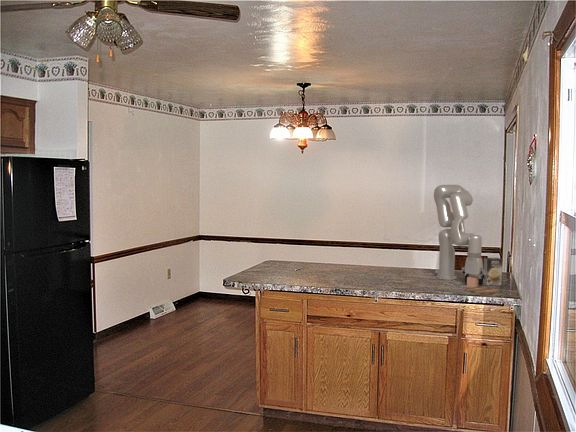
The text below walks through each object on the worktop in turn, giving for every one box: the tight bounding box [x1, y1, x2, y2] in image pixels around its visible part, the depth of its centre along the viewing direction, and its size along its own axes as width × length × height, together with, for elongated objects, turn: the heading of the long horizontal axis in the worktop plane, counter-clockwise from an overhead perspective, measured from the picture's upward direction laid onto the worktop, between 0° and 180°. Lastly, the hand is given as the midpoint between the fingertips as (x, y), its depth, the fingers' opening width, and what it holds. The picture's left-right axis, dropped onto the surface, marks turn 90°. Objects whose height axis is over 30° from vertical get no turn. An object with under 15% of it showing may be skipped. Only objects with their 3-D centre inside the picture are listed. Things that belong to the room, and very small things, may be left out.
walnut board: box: [464, 285, 502, 296], centre depth 319 cm, size 14×14×1 cm
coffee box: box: [482, 257, 503, 286], centre depth 338 cm, size 9×6×16 cm
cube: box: [466, 275, 481, 288], centre depth 333 cm, size 6×6×6 cm
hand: (473, 283), depth 333 cm, fingers open, 9 cm apart
